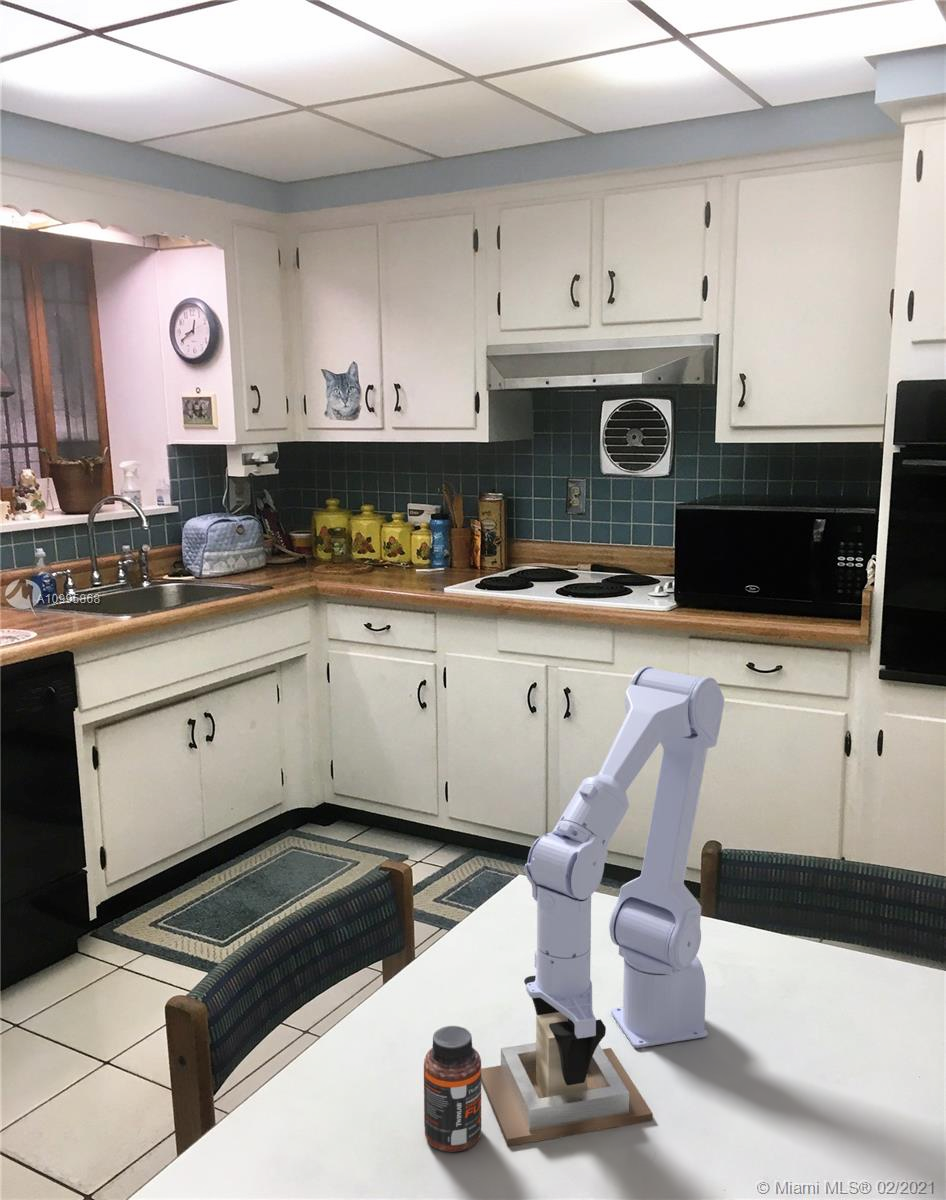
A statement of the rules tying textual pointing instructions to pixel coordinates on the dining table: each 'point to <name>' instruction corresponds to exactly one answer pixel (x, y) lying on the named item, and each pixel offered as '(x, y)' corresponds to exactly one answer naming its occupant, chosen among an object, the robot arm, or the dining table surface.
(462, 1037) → the supplement bottle
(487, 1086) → the collar board
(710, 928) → the dining table surface
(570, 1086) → the peg
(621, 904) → the robot arm
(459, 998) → the dining table surface
